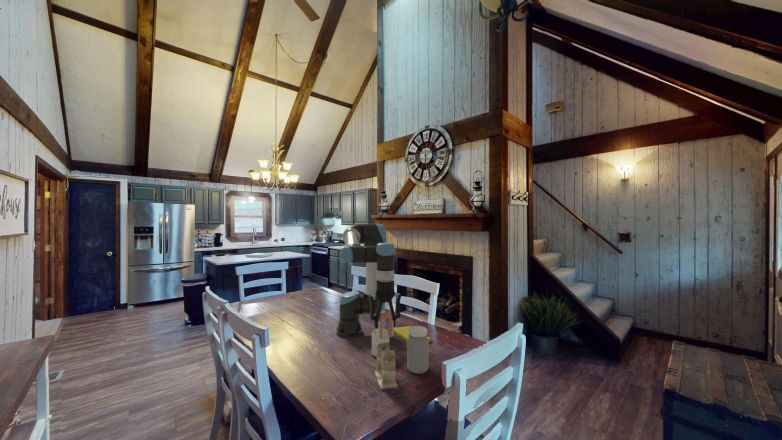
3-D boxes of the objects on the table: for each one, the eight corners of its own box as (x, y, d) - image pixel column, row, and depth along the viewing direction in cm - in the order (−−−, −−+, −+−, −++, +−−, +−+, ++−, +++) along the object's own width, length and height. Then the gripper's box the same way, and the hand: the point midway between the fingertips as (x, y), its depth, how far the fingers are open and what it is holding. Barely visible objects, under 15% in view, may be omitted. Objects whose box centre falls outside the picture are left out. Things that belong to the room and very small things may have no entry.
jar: (412, 361, 138) (413, 323, 138) (432, 367, 133) (432, 327, 133) (403, 371, 129) (403, 330, 129) (423, 377, 124) (423, 335, 124)
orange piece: (380, 338, 120) (380, 316, 120) (378, 334, 124) (378, 313, 124) (392, 337, 121) (392, 315, 121) (389, 333, 125) (389, 312, 125)
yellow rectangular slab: (431, 342, 160) (407, 328, 181) (431, 338, 160) (407, 324, 181) (413, 347, 154) (390, 331, 175) (413, 343, 154) (390, 328, 175)
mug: (387, 359, 140) (387, 336, 140) (369, 358, 141) (369, 335, 141) (391, 348, 152) (391, 327, 152) (374, 347, 153) (375, 326, 153)
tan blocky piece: (374, 371, 128) (374, 340, 128) (389, 370, 130) (389, 339, 130) (380, 390, 115) (380, 355, 115) (397, 387, 116) (398, 353, 116)
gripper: (365, 282, 116) (365, 340, 116) (408, 280, 121) (408, 336, 121) (362, 279, 124) (362, 333, 124) (403, 277, 128) (403, 330, 128)
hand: (385, 335), depth 122 cm, fingers closed on orange piece, 5 cm apart
